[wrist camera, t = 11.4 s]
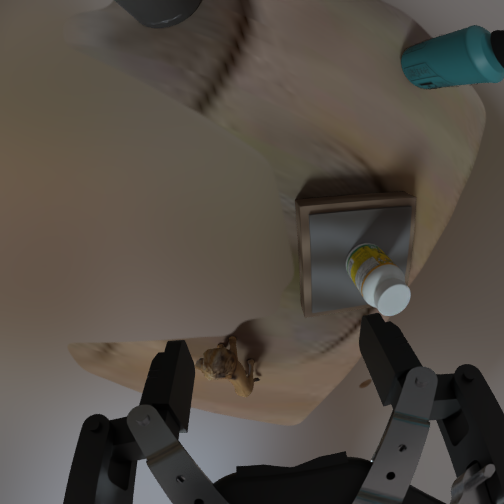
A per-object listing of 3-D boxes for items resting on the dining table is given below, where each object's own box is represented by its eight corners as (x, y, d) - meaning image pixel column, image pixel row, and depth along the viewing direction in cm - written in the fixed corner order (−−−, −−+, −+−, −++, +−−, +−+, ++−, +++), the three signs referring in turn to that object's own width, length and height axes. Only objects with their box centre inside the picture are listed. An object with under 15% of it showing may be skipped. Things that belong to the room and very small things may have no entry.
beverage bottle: (402, 92, 30) (511, 84, 12) (387, 48, 27) (486, 10, 9) (436, 89, 29) (542, 87, 11) (423, 47, 27) (522, 23, 8)
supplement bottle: (337, 261, 35) (362, 302, 27) (368, 233, 34) (403, 267, 25) (359, 286, 37) (386, 329, 28) (388, 260, 36) (423, 298, 27)
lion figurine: (195, 334, 45) (187, 375, 37) (221, 320, 44) (217, 361, 36) (248, 382, 50) (248, 421, 42) (272, 371, 49) (276, 410, 41)
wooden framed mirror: (294, 199, 36) (300, 207, 33) (403, 191, 36) (418, 198, 32) (300, 303, 43) (305, 319, 39) (395, 288, 42) (406, 302, 39)
